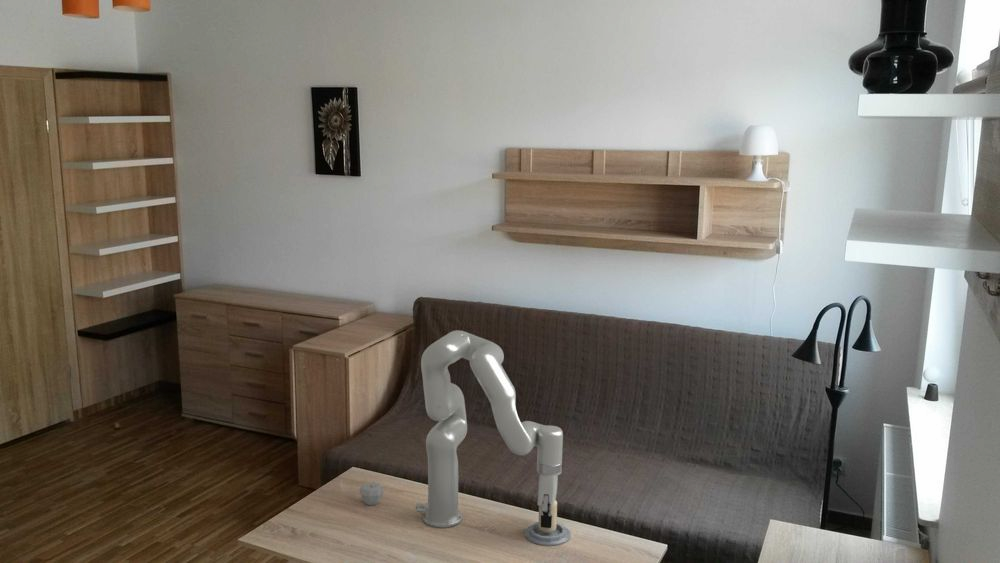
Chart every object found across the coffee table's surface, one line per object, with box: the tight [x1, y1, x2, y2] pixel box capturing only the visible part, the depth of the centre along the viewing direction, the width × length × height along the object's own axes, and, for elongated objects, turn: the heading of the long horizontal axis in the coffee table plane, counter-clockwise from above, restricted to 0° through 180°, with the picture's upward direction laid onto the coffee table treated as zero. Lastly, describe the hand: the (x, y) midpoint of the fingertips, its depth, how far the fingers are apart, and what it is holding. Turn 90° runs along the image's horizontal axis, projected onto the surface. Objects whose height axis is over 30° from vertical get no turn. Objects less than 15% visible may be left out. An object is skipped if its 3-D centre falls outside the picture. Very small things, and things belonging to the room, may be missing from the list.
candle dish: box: [524, 521, 571, 547], centre depth 254 cm, size 14×14×2 cm
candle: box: [538, 499, 558, 532], centre depth 253 cm, size 6×6×10 cm
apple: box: [359, 481, 384, 506], centre depth 274 cm, size 8×8×7 cm
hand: (547, 522), depth 254 cm, fingers closed on candle, 5 cm apart
